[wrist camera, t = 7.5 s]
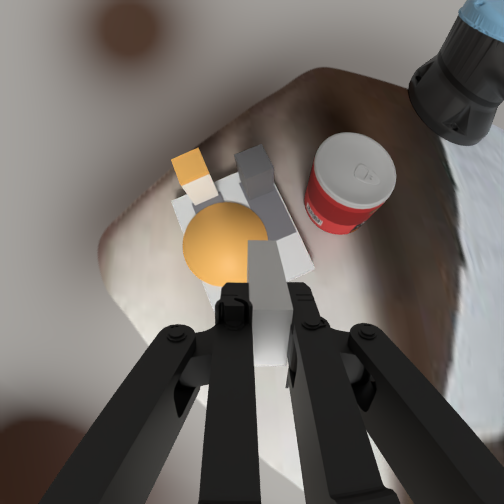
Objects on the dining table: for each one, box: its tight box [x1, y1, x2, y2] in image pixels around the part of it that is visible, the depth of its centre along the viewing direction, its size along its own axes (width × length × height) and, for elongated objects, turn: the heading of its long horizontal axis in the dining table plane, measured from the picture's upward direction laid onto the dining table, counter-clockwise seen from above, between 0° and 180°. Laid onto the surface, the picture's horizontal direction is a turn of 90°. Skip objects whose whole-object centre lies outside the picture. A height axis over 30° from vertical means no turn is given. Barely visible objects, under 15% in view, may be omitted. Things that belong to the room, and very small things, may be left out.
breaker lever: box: [171, 148, 218, 206], centre depth 34 cm, size 3×3×7 cm
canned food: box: [304, 132, 396, 235], centre depth 33 cm, size 8×8×11 cm
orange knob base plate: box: [171, 144, 315, 312], centre depth 34 cm, size 13×14×8 cm
